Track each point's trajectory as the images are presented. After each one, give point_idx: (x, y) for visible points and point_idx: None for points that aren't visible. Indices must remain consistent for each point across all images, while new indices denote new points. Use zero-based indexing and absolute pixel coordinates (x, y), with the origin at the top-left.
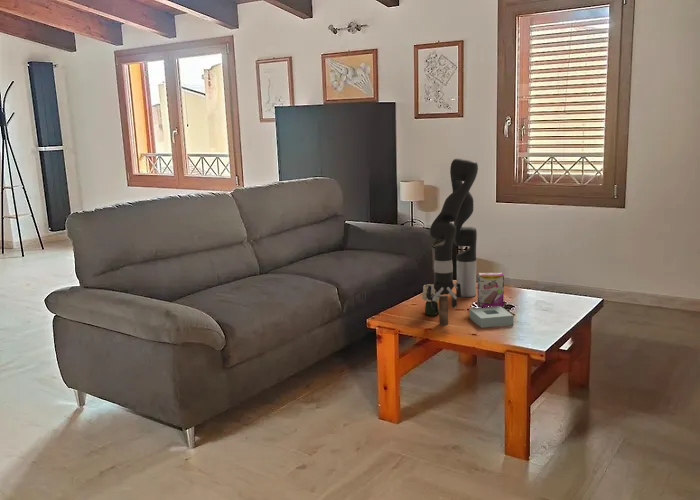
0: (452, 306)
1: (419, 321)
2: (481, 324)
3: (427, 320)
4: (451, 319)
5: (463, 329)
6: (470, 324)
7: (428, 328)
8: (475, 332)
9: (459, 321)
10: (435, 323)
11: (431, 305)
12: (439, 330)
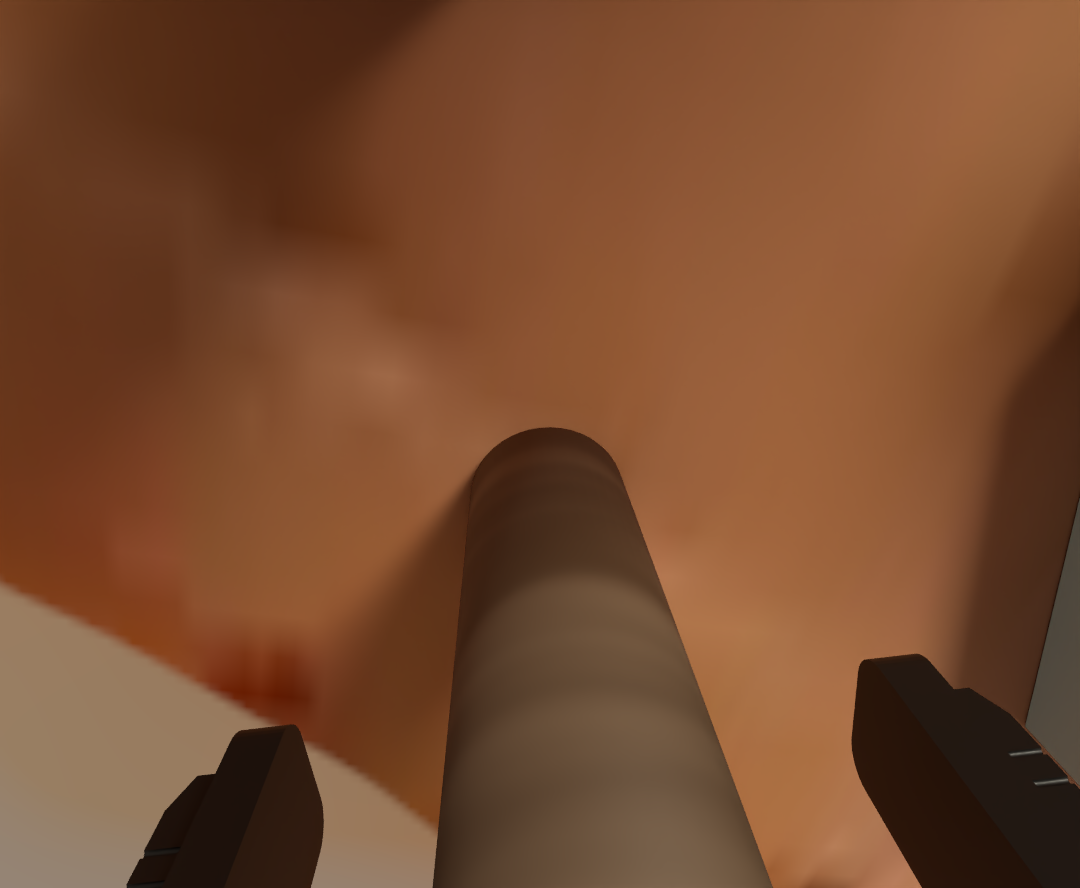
0: (868, 681)
1: (81, 268)
2: (1068, 766)
3: (258, 229)
4: (767, 254)
5: (767, 752)
6: (963, 577)
7: (263, 661)
8: (867, 854)
9: (864, 404)
10: (406, 445)
11: (162, 866)
12: (424, 752)
